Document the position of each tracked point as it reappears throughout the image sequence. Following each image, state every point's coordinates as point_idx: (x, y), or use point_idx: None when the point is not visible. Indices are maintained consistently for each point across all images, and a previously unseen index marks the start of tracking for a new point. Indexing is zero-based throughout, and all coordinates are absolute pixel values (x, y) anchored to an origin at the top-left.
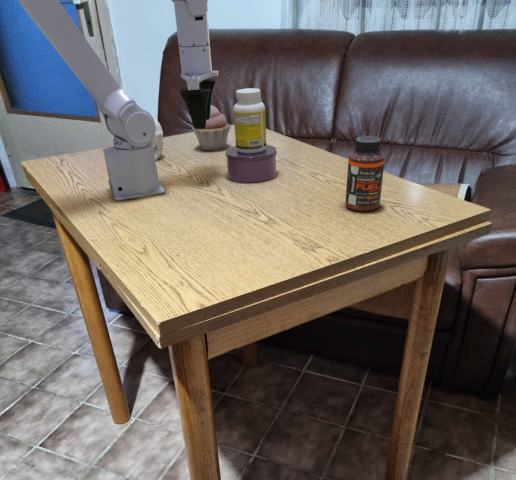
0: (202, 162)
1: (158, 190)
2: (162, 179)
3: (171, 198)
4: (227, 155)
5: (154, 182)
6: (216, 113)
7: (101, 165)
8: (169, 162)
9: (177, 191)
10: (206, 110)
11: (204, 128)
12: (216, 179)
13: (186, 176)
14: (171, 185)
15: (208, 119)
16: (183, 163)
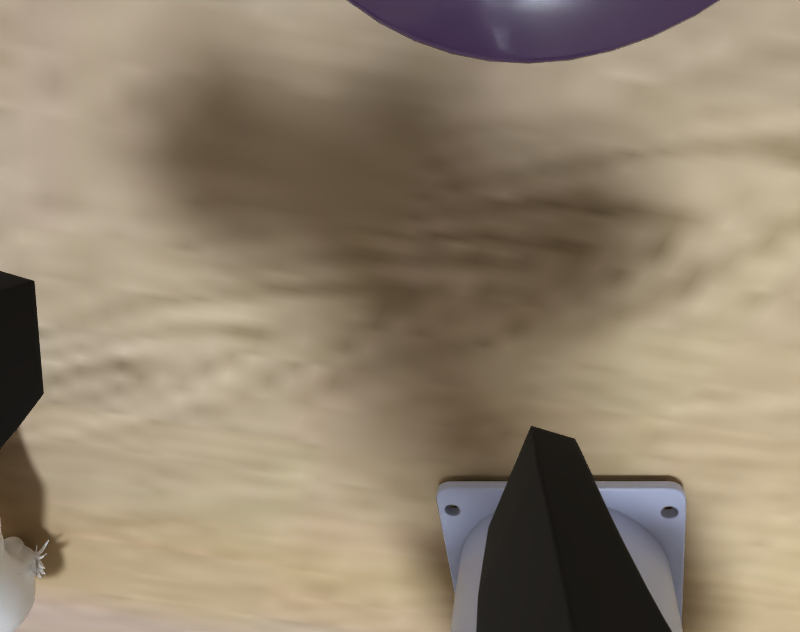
0: (68, 160)
1: (655, 516)
2: (388, 444)
3: (785, 462)
4: (593, 53)
5: (649, 563)
6: None
7: (80, 622)
8: (53, 358)
9: (667, 413)
10: (587, 614)
11: (577, 444)
12: (527, 129)
13: (374, 315)
14: (528, 422)
15: (33, 289)
16: (81, 286)
